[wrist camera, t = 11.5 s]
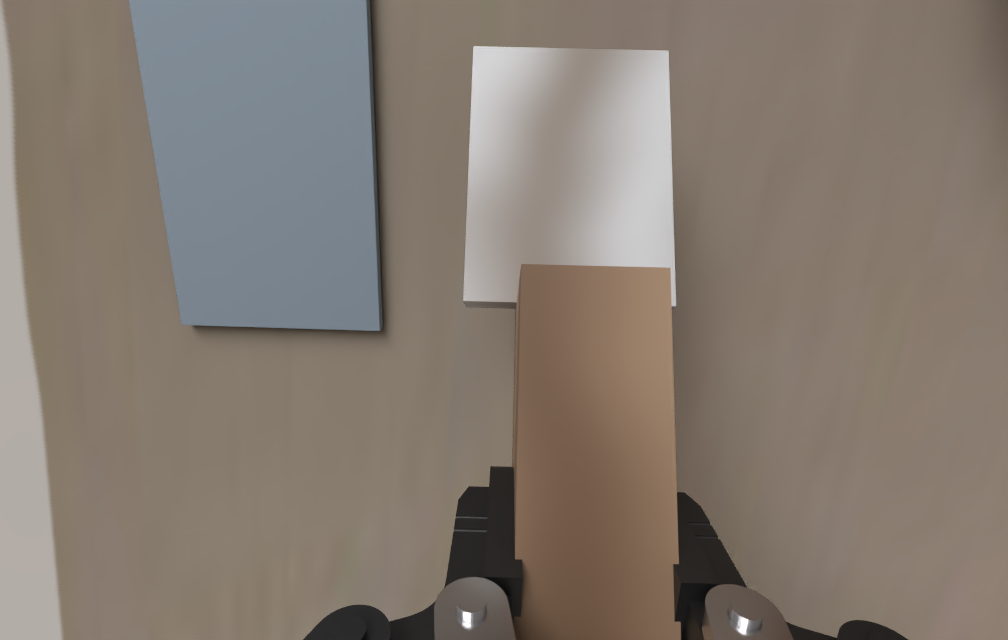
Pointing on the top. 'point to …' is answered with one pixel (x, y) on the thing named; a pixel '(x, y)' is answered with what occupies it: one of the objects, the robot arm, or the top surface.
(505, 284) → the turner
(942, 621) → the top surface
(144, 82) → the mat
